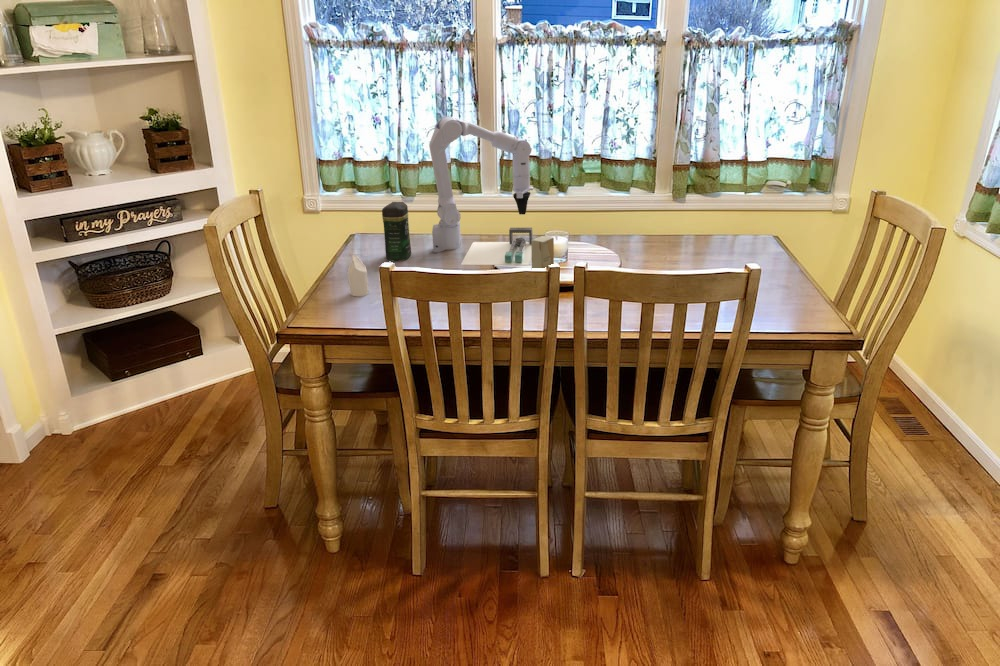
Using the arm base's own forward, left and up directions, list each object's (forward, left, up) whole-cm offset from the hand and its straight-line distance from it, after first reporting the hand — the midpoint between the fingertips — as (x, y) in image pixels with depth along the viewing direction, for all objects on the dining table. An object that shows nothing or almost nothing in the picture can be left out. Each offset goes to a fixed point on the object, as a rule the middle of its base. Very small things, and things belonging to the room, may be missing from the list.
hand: (522, 213), depth 274 cm
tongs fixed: (+1, -18, -9) cm, 20 cm away
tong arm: (-2, -20, -8) cm, 21 cm away
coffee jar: (-40, -19, -10) cm, 45 cm away
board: (-6, -18, -10) cm, 21 cm away
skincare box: (+10, -38, -10) cm, 41 cm away
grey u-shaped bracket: (0, -7, -9) cm, 11 cm away
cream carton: (-44, -53, -10) cm, 70 cm away
